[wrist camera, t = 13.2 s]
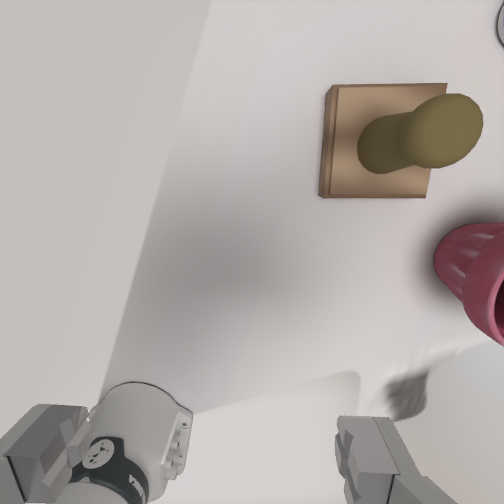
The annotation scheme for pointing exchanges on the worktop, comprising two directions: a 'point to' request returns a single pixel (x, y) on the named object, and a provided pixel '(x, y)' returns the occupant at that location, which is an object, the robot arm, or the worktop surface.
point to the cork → (422, 135)
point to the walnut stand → (349, 130)
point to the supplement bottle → (501, 25)
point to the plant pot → (476, 273)
